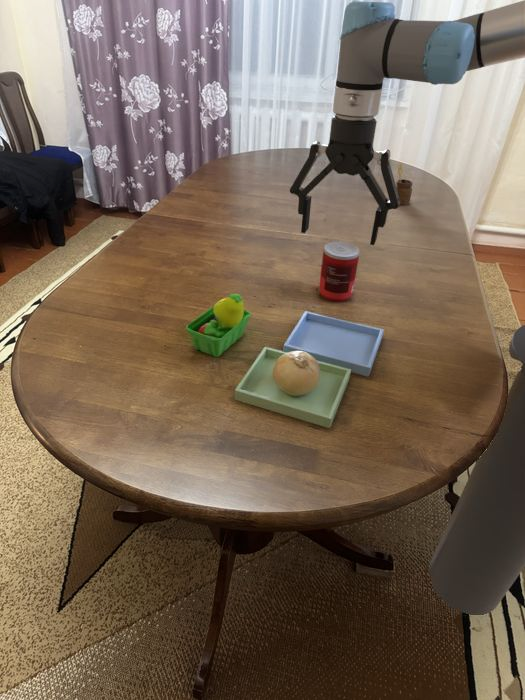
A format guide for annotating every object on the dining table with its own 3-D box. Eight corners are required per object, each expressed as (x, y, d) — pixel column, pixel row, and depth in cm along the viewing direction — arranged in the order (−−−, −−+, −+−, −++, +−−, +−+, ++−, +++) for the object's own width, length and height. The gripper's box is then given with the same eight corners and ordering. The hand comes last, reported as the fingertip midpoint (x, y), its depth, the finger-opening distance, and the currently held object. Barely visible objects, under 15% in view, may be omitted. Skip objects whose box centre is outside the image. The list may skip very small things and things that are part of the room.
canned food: (339, 282, 110) (346, 239, 104) (359, 298, 105) (367, 253, 98) (311, 288, 108) (316, 244, 101) (330, 305, 102) (336, 259, 95)
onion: (262, 386, 79) (263, 353, 74) (291, 365, 83) (294, 332, 79) (299, 409, 74) (303, 375, 70) (327, 385, 79) (333, 352, 75)
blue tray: (381, 338, 92) (383, 329, 91) (368, 377, 83) (370, 367, 81) (304, 319, 97) (305, 311, 96) (282, 354, 87) (283, 345, 86)
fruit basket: (220, 322, 95) (218, 272, 88) (257, 335, 92) (258, 285, 85) (185, 350, 87) (181, 297, 80) (224, 366, 84) (223, 312, 77)
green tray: (349, 378, 82) (351, 369, 81) (329, 428, 72) (331, 419, 71) (264, 355, 87) (264, 346, 85) (234, 399, 77) (234, 390, 75)
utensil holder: (402, 206, 155) (410, 169, 148) (387, 201, 159) (394, 164, 152) (412, 203, 158) (421, 166, 151) (398, 198, 162) (405, 162, 155)
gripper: (277, 112, 78) (271, 232, 91) (429, 128, 72) (400, 255, 85) (290, 105, 84) (283, 219, 97) (433, 119, 78) (405, 240, 90)
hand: (338, 236), depth 91 cm, fingers open, 13 cm apart
